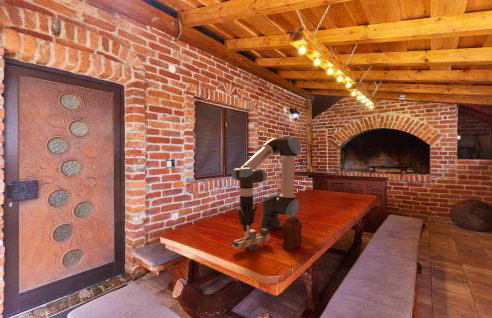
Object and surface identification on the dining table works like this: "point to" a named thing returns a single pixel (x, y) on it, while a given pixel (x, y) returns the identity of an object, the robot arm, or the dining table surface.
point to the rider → (252, 234)
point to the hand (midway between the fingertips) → (246, 236)
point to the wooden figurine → (292, 233)
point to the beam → (252, 241)
